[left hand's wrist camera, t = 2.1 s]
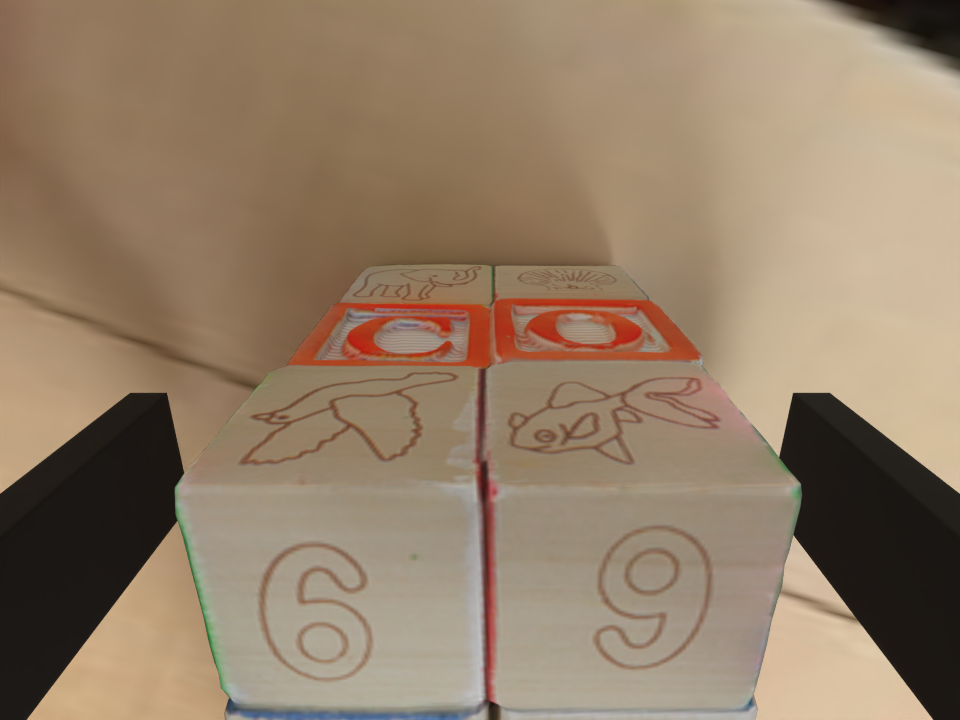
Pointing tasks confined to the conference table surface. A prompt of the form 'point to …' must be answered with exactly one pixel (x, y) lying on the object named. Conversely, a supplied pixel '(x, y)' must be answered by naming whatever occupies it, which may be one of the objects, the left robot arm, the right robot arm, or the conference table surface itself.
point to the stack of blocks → (489, 512)
